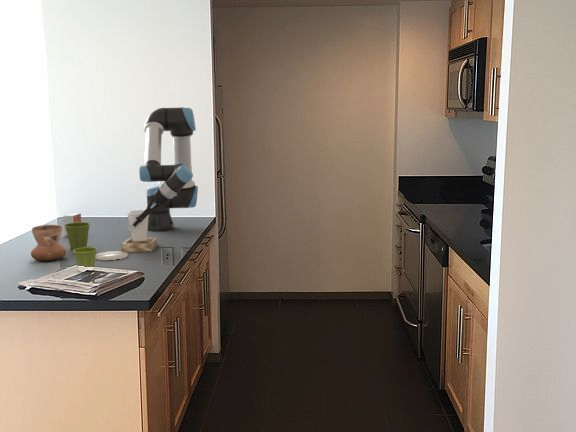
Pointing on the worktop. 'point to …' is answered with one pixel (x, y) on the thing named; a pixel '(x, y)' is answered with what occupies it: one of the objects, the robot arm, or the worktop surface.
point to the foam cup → (141, 230)
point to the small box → (71, 219)
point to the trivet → (111, 255)
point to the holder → (139, 245)
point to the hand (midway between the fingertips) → (132, 228)
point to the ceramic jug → (47, 243)
